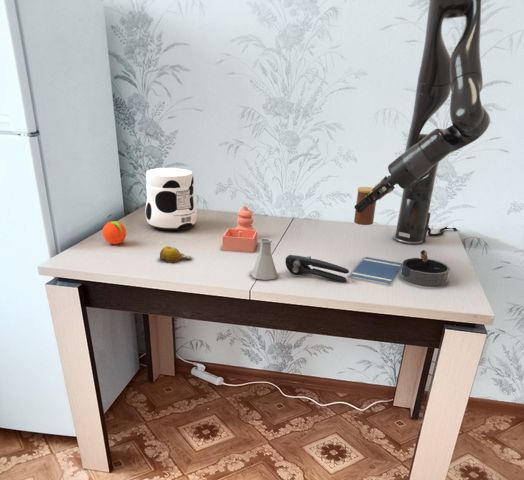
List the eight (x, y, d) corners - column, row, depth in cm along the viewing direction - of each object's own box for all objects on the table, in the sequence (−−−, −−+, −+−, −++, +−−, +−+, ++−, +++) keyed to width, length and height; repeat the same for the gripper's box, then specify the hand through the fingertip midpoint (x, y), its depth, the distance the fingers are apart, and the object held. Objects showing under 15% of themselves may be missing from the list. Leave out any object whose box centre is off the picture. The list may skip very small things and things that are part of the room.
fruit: (193, 259, 146) (193, 246, 144) (171, 265, 140) (170, 253, 138) (175, 252, 150) (174, 240, 149) (153, 258, 145) (152, 246, 143)
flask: (250, 270, 139) (251, 235, 134) (276, 270, 140) (277, 235, 135) (251, 280, 133) (252, 243, 128) (278, 280, 134) (281, 244, 129)
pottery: (253, 252, 153) (254, 220, 148) (222, 249, 154) (222, 217, 149) (260, 235, 169) (261, 205, 164) (232, 233, 169) (232, 203, 165)
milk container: (155, 218, 182) (152, 165, 173) (202, 221, 180) (201, 169, 171) (139, 231, 167) (134, 175, 158) (189, 235, 165) (188, 178, 156)
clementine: (133, 245, 154) (131, 222, 151) (113, 249, 150) (110, 226, 146) (119, 238, 159) (117, 216, 156) (99, 243, 155) (96, 220, 151)
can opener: (280, 276, 137) (281, 256, 134) (288, 267, 143) (289, 248, 140) (344, 287, 132) (347, 267, 129) (350, 278, 137) (352, 258, 135)
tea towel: (366, 258, 153) (366, 256, 152) (402, 264, 149) (402, 263, 148) (349, 277, 138) (349, 275, 138) (389, 284, 134) (389, 283, 134)
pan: (426, 269, 146) (429, 256, 144) (456, 285, 136) (459, 271, 134) (391, 274, 142) (393, 260, 140) (419, 290, 132) (422, 276, 130)
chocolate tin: (366, 219, 142) (370, 186, 138) (377, 224, 138) (382, 190, 133) (349, 220, 140) (354, 187, 136) (360, 225, 136) (365, 191, 131)
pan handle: (427, 266, 142) (428, 260, 141) (421, 265, 142) (422, 259, 141) (426, 255, 150) (427, 249, 149) (419, 254, 150) (421, 248, 149)
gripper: (406, 150, 133) (355, 191, 143) (398, 157, 122) (344, 201, 131) (422, 173, 135) (371, 212, 144) (416, 182, 123) (361, 224, 132)
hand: (358, 207), depth 138 cm, fingers closed on chocolate tin, 5 cm apart
